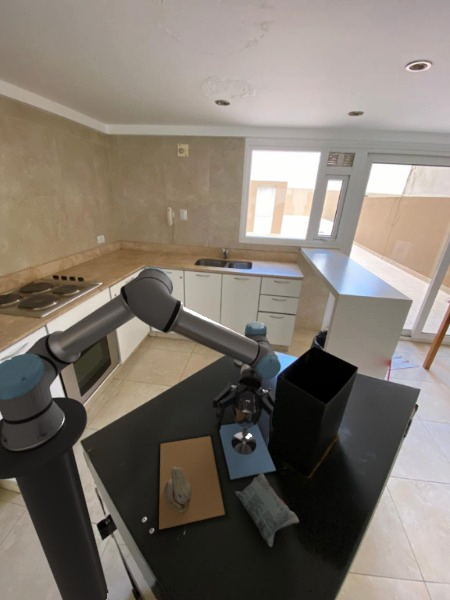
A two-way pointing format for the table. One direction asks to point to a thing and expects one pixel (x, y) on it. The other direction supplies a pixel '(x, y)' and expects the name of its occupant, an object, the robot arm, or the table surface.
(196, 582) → the table surface
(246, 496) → the packaged food
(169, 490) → the grey stone figurine
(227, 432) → the mat blue
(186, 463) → the mat brown
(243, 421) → the wine glass
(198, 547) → the table surface
